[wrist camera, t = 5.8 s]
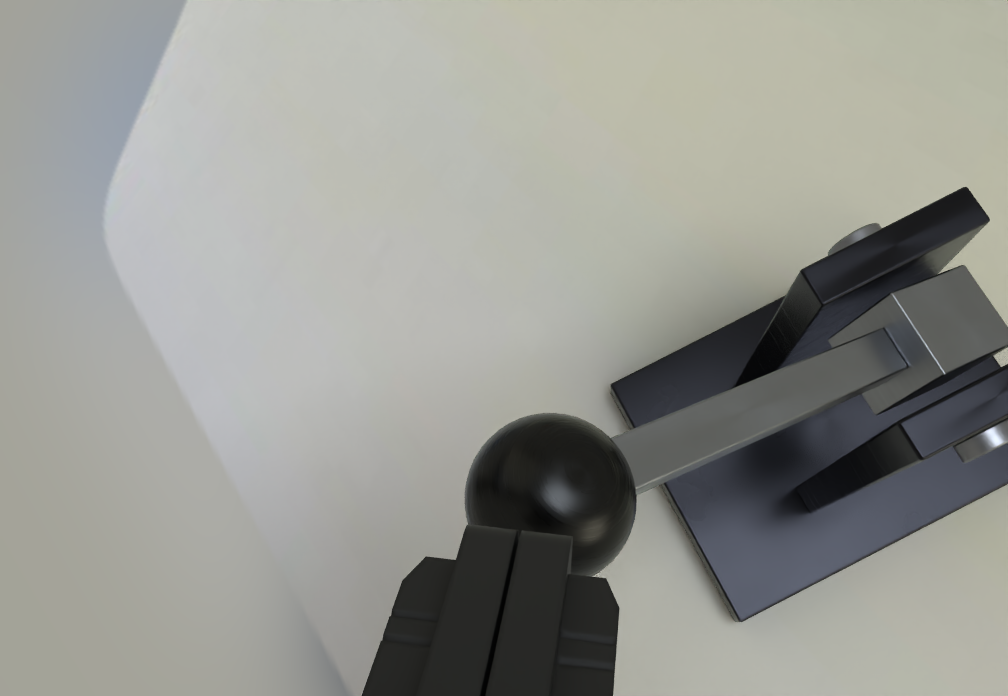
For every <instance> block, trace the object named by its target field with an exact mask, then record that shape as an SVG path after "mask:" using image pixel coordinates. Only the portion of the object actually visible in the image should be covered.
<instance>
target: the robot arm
mask: <svg viewBox="0 0 1008 696" xmlns="http://www.w3.org/2000/svg"><path fill="white" fill-rule="evenodd" d="M572 544H573V536H566V535H557V534H549V533H540V532H532V531H523V530H522V532H521V534H520V538H519V532H518V530H513V529H504V528H496V527H488V526H479V525H471V524H468V525H467V526H466V528H465V531H464V534H463V538H462V541H461V544H460V548H459V551H458V555H457V558H456V560H450V559H442V558H434V557H425V558H424V559H423V560H422V561H421V562H420V563H419V564H418V565H417V566H416V567H415V568H414V569H413V570H412V571H411V572H410V573H409V574H408V575H407V576H406V577H405V579H404V580H403V581H402V583H401V586H400V589H399V592H398V594H397V597H396V600H395V603H394V606H393V609H392V614H391V616H390V617H389V620H388V623H387V625H386V628H385V631H384V634H383V640H382V641H381V642H380V645H379V648H378V651H377V654H376V657H375V659H374V662H373V665H372V668H371V671H370V673H369V676H368V679H367V682H366V685H365V688H364V690H363V693H362V696H613V687H614V673H615V660H616V645H617V633H618V619H619V606H618V604H617V602H616V599H615V597H614V595H613V593H612V591H611V588H610V586H609V584H608V582H607V579H606V578H598V577H590V576H582V575H574V574H571V559H572Z"/></svg>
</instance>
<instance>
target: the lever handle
mask: <svg viewBox="0 0 1008 696" xmlns="http://www.w3.org/2000/svg"><path fill="white" fill-rule="evenodd" d="M828 342H829V343H830V345H831V346H832V348H831V349H829V350H826V351H824V352H821V353H819V354H816V355H814V356H811V357H809V358H806V359H804V360H802V361H799V362H797V363H794V364H792V365H789V366H787V367H784V368H782V369H779V370H777V371H774V372H772V373H770V374H767V375H765V376H762V377H760V378H757V379H755V380H752V381H750V382H747V383H745V384H743V385H740V386H738V387H735V388H733V389H730V390H728V391H725V392H723V393H720V394H718V395H715V396H713V397H711V398H708V399H706V400H703V401H701V402H698V403H696V404H693V405H691V406H688V407H686V408H684V409H681V410H679V411H676V412H674V413H671V414H669V415H666V416H664V417H661V418H659V419H656V420H654V421H652V422H649V423H647V424H644V425H642V426H639V427H637V428H634V429H632V430H629V431H627V432H625V433H622V434H620V435H617V436H615V437H612V438H610V437H609V436H607V435H606V434H605V433H604V432H603V431H602V430H600V429H599V428H597V427H596V426H594V425H593V424H591V423H589V422H587V421H585V420H582V419H580V418H577V417H574V416H570V415H565V414H557V413H542V414H535V415H530V416H526V417H523V418H520V419H518V420H516V421H513V422H511V423H509V424H507V425H506V426H504V427H503V428H501V429H500V430H498V431H497V432H496V433H495V434H494V435H493V436H492V437H491V438H489V439H488V440H487V442H486V443H485V444H484V445H483V446H482V448H481V449H480V451H479V452H478V454H477V456H476V457H475V459H474V461H473V463H472V465H471V468H470V471H469V474H468V478H467V481H466V487H465V511H466V518H467V521H468V524H471V525H479V526H488V527H496V528H504V529H513V530H518V532H519V538H520V534H521V532H522V530H523V531H532V532H540V533H549V534H557V535H566V536H573V544H572V559H571V574H574V575H582V576H590V577H592V576H594V575H595V574H597V573H599V572H600V571H601V570H602V569H604V568H605V567H606V566H607V565H608V564H610V563H611V562H612V561H613V560H614V558H615V557H616V556H617V555H618V554H619V552H620V551H621V549H622V548H623V546H624V545H625V543H626V541H627V539H628V537H629V535H630V532H631V529H632V526H633V523H634V520H635V514H636V495H638V494H640V493H643V492H645V491H647V490H649V489H652V488H654V487H656V486H658V485H660V484H663V483H665V482H667V481H669V480H671V479H674V478H676V477H678V476H680V475H683V474H685V473H687V472H689V471H691V470H694V469H696V468H698V467H700V466H703V465H705V464H707V463H709V462H711V461H714V460H716V459H718V458H720V457H723V456H725V455H727V454H729V453H731V452H734V451H736V450H738V449H740V448H742V447H745V446H747V445H749V444H751V443H754V442H756V441H758V440H760V439H762V438H765V437H767V436H769V435H771V434H774V433H776V432H778V431H780V430H782V429H785V428H787V427H789V426H791V425H794V424H796V423H798V422H800V421H802V420H805V419H807V418H809V417H811V416H813V415H816V414H818V413H820V412H822V411H825V410H827V409H829V408H831V407H833V406H836V405H838V404H840V403H842V402H845V401H847V400H849V399H851V398H853V397H856V396H858V395H860V394H862V396H863V397H864V399H865V400H866V402H867V404H868V405H869V407H870V408H871V410H872V412H873V413H874V414H875V415H879V414H881V413H884V412H886V411H888V410H890V409H892V408H894V407H896V406H898V405H900V404H903V403H905V402H907V401H909V400H911V399H913V398H915V397H917V396H919V395H922V394H924V393H926V392H928V391H930V390H932V389H934V388H936V387H938V386H941V385H943V384H945V383H947V382H948V381H950V380H952V379H954V378H955V377H957V376H959V375H961V374H962V373H964V372H966V371H967V370H969V369H971V368H973V367H974V366H976V365H978V364H980V363H981V362H983V361H985V360H986V359H988V358H990V357H992V356H993V355H995V354H997V353H998V352H1000V351H1002V350H1004V349H1005V348H1007V347H1008V327H1007V325H1006V324H1005V322H1004V321H1003V320H1002V318H1001V317H1000V315H999V314H998V312H997V311H996V309H995V308H994V307H993V305H992V304H991V302H990V301H989V299H988V298H987V297H986V295H985V294H984V292H983V291H982V289H981V288H980V286H979V285H978V284H977V282H976V281H975V279H974V278H973V276H972V275H971V274H970V272H969V271H968V269H967V268H966V266H965V265H961V266H958V267H956V268H953V269H951V270H948V271H945V272H943V273H940V274H938V275H935V276H932V277H930V278H927V279H924V280H922V281H919V282H917V283H914V284H911V285H909V286H906V287H903V288H901V289H898V290H896V291H893V292H890V293H889V294H888V295H886V296H885V297H884V298H882V299H881V300H880V301H878V302H877V303H876V304H874V305H873V306H871V307H870V308H869V309H867V310H866V311H865V312H863V313H862V314H861V315H859V316H858V317H857V318H855V319H854V320H853V321H851V322H850V323H849V324H847V325H846V326H844V327H843V328H842V329H840V330H839V331H838V332H836V333H835V334H834V335H832V336H831V337H830V338H829V339H828Z"/></svg>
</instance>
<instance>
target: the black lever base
mask: <svg viewBox="0 0 1008 696" xmlns="http://www.w3.org/2000/svg"><path fill="white" fill-rule="evenodd" d="M989 221H990V219H989V217H988V216H987V214H986V213H985V211H984V210H983V209H982V207H981V206H980V204H979V203H978V202H977V200H976V199H975V198H974V196H973V195H972V193H971V192H970V191H969V189H968V188H967V187H963V188H961V189H959V190H957V191H955V192H953V193H951V194H949V195H947V196H945V197H943V198H941V199H939V200H937V201H935V202H933V203H931V204H929V205H927V206H925V207H924V208H922V209H920V210H918V211H916V212H914V213H912V214H910V215H908V216H906V217H904V218H902V219H900V220H898V221H896V222H894V223H892V224H890V225H888V226H886V227H884V228H881V227H880V225H879V224H877V223H872V224H869V225H866V226H864V227H861V228H859V229H857V230H856V231H854V232H852V233H850V234H849V235H847V236H846V237H844V238H843V239H841V240H840V241H839V242H837V243H836V244H835V245H834V246H833V247H832V248H831V249H830V250H829V252H828V256H827V257H825V258H823V259H821V260H819V261H817V262H815V263H813V264H811V265H809V266H807V267H805V268H803V269H801V271H800V272H799V274H798V276H797V277H796V279H795V281H794V283H793V284H792V286H791V288H790V290H789V291H788V293H787V295H785V296H784V297H782V298H780V299H778V300H776V301H774V302H772V303H770V304H768V305H766V306H764V307H762V308H760V309H758V310H756V311H754V312H752V313H750V314H748V315H746V316H744V317H742V318H740V319H738V320H736V321H734V322H732V323H730V324H728V325H726V326H724V327H722V328H721V329H719V330H717V331H715V332H713V333H711V334H709V335H707V336H705V337H703V338H701V339H699V340H697V341H695V342H693V343H691V344H689V345H687V346H685V347H683V348H681V349H679V350H677V351H675V352H673V353H671V354H669V355H667V356H665V357H663V358H661V359H659V360H658V361H656V362H654V363H652V364H650V365H648V366H646V367H644V368H642V369H640V370H638V371H636V372H634V373H632V374H630V375H628V376H626V377H624V378H622V379H620V380H618V381H616V382H614V383H612V384H611V390H610V392H611V395H612V397H613V399H614V400H615V402H616V404H617V406H618V408H619V410H620V411H621V413H622V415H623V417H624V419H625V421H626V422H627V424H628V426H629V428H630V430H632V429H634V428H637V427H639V426H642V425H644V424H647V423H649V422H652V421H654V420H656V419H659V418H661V417H664V416H666V415H669V414H671V413H674V412H676V411H679V410H681V409H684V408H686V407H688V406H691V405H693V404H696V403H698V402H701V401H703V400H706V399H708V398H711V397H713V396H715V395H718V394H720V393H723V392H725V391H728V390H730V389H733V388H735V387H738V386H740V385H743V384H745V383H747V382H750V381H752V380H755V379H757V378H760V377H762V376H765V375H767V374H770V373H772V372H774V371H777V370H779V369H782V368H784V367H787V366H789V365H792V364H794V363H797V362H799V361H802V360H804V359H806V358H809V357H811V356H814V355H816V354H819V353H821V352H824V351H826V350H829V349H831V348H832V346H831V345H830V343H829V342H828V339H829V338H830V337H831V336H832V335H834V334H835V333H836V332H838V331H839V330H840V329H842V328H843V327H844V326H846V325H847V324H849V323H850V322H851V321H853V320H854V319H855V318H857V317H858V316H859V315H861V314H862V313H863V312H865V311H866V310H867V309H869V308H870V307H871V306H873V305H874V304H876V303H877V302H878V301H880V300H881V299H882V298H884V297H885V296H886V295H888V294H889V293H890V292H893V291H896V290H898V289H901V288H903V287H906V286H909V285H911V284H914V283H917V282H919V281H922V280H924V279H927V278H930V277H932V276H935V275H937V274H938V273H939V272H940V271H941V270H942V269H943V268H944V267H945V266H946V265H947V264H948V263H949V262H950V261H951V260H952V259H953V258H954V257H955V256H956V255H957V254H958V253H959V252H960V251H961V250H962V249H963V248H964V247H965V246H966V245H967V244H968V242H969V241H970V240H971V239H972V238H973V237H974V236H975V235H976V234H977V233H978V232H979V231H980V230H981V229H982V228H983V227H984V226H985V225H986V224H987V223H988V222H989ZM1007 484H1008V364H1007V365H1005V366H1003V367H1000V365H999V364H998V362H997V361H996V359H995V358H994V356H992V357H990V358H988V359H986V360H985V361H983V362H981V363H980V364H978V365H976V366H974V367H973V368H971V369H969V370H967V371H966V372H964V373H962V374H961V375H959V376H957V377H955V378H954V379H952V380H950V381H948V382H947V383H945V384H943V385H941V386H938V387H936V388H934V389H932V390H930V391H928V392H926V393H924V394H922V395H919V396H917V397H915V398H913V399H911V400H909V401H907V402H905V403H903V404H900V405H898V406H896V407H894V408H892V409H890V410H888V411H886V412H884V413H881V414H879V415H875V414H874V413H873V412H872V410H871V408H870V407H869V405H868V404H867V402H866V400H865V399H864V397H863V396H862V394H860V395H858V396H856V397H853V398H851V399H849V400H847V401H845V402H842V403H840V404H838V405H836V406H833V407H831V408H829V409H827V410H825V411H822V412H820V413H818V414H816V415H813V416H811V417H809V418H807V419H805V420H802V421H800V422H798V423H796V424H794V425H791V426H789V427H787V428H785V429H782V430H780V431H778V432H776V433H774V434H771V435H769V436H767V437H765V438H762V439H760V440H758V441H756V442H754V443H751V444H749V445H747V446H745V447H742V448H740V449H738V450H736V451H734V452H731V453H729V454H727V455H725V456H723V457H720V458H718V459H716V460H714V461H711V462H709V463H707V464H705V465H703V466H700V467H698V468H696V469H694V470H691V471H689V472H687V473H685V474H683V475H680V476H678V477H676V478H674V479H671V480H669V481H667V482H665V483H663V484H660V485H661V487H662V489H663V490H664V492H665V494H666V496H667V498H668V500H669V501H670V503H671V505H672V507H673V509H674V511H675V512H676V514H677V516H678V518H679V520H680V522H681V523H682V525H683V527H684V529H685V531H686V533H687V535H688V536H689V538H690V540H691V542H692V544H693V546H694V547H695V549H696V551H697V553H698V555H699V557H700V558H701V560H702V562H703V564H704V566H705V568H706V569H707V571H708V573H709V575H710V577H711V579H712V580H713V582H714V584H715V586H716V588H717V590H718V591H719V593H720V595H721V597H722V599H723V601H724V602H725V604H726V606H727V608H728V610H729V612H730V614H731V615H732V617H733V619H734V621H736V622H743V621H745V620H747V619H748V618H750V617H752V616H754V615H756V614H758V613H760V612H762V611H764V610H766V609H768V608H770V607H772V606H774V605H775V604H777V603H779V602H781V601H783V600H785V599H787V598H789V597H791V596H793V595H795V594H797V593H799V592H801V591H802V590H804V589H806V588H808V587H810V586H812V585H814V584H816V583H818V582H820V581H822V580H824V579H826V578H828V577H829V576H831V575H833V574H835V573H837V572H839V571H841V570H843V569H845V568H847V567H849V566H851V565H853V564H855V563H856V562H858V561H860V560H862V559H864V558H866V557H868V556H870V555H872V554H874V553H876V552H878V551H880V550H882V549H883V548H885V547H887V546H889V545H891V544H893V543H895V542H897V541H899V540H901V539H903V538H905V537H907V536H909V535H910V534H912V533H914V532H916V531H918V530H920V529H922V528H924V527H926V526H928V525H930V524H932V523H934V522H936V521H937V520H939V519H941V518H943V517H945V516H947V515H949V514H951V513H953V512H955V511H957V510H959V509H961V508H962V507H964V506H966V505H968V504H970V503H972V502H974V501H976V500H978V499H980V498H982V497H984V496H986V495H988V494H989V493H991V492H993V491H995V490H997V489H999V488H1001V487H1003V486H1005V485H1007Z"/></svg>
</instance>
